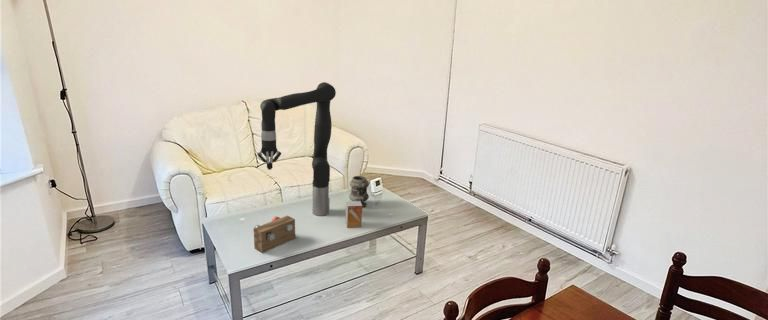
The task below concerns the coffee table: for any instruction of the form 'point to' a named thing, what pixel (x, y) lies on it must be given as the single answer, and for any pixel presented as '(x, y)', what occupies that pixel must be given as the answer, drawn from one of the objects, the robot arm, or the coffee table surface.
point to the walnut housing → (276, 228)
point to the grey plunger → (268, 234)
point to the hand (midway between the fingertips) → (269, 169)
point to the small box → (353, 214)
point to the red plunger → (288, 227)
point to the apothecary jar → (359, 189)
